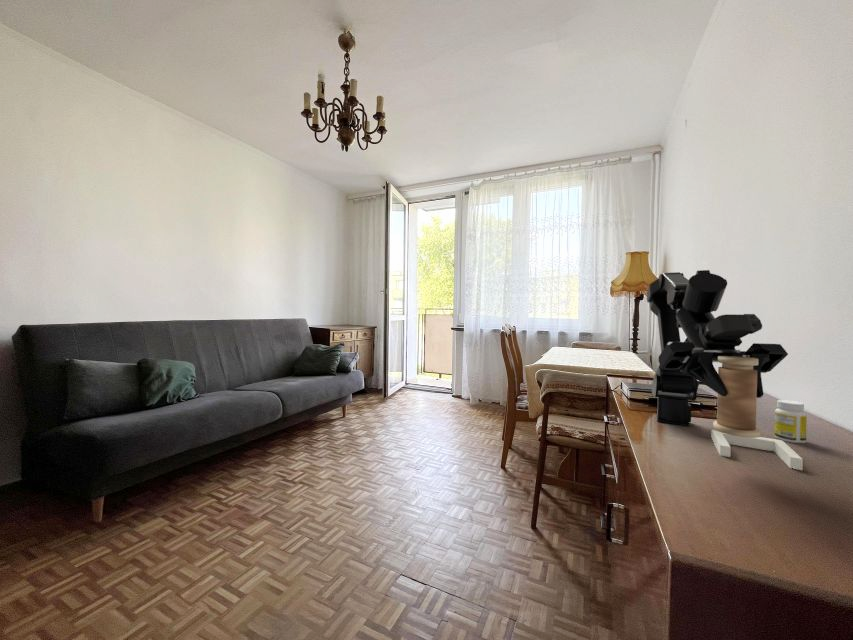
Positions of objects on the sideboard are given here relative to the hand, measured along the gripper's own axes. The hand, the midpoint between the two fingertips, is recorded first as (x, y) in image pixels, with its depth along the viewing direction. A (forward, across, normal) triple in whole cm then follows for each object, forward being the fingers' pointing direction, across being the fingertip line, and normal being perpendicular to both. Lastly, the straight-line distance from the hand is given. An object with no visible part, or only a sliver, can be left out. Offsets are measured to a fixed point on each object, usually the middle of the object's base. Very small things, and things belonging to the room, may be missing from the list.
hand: (742, 395), depth 57 cm
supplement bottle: (-5, +24, +24) cm, 34 cm away
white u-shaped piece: (+3, +9, +16) cm, 19 cm away
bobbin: (+4, 0, +6) cm, 7 cm away
